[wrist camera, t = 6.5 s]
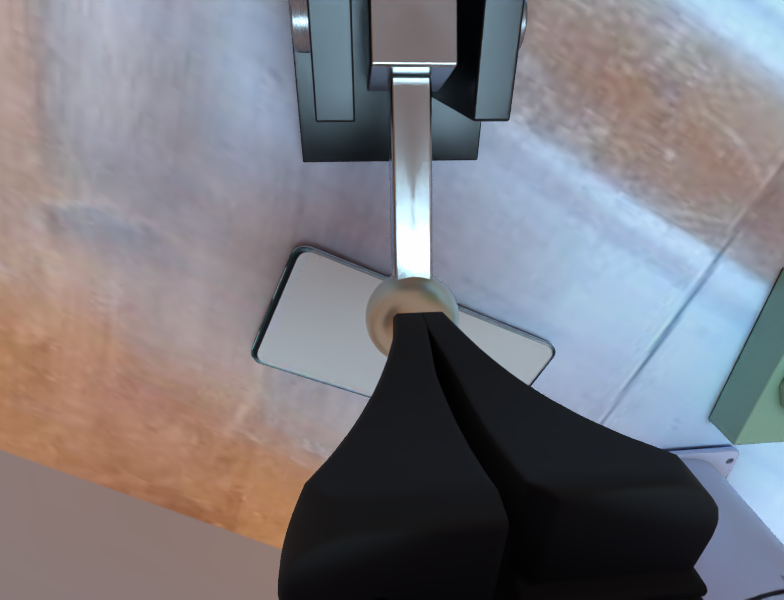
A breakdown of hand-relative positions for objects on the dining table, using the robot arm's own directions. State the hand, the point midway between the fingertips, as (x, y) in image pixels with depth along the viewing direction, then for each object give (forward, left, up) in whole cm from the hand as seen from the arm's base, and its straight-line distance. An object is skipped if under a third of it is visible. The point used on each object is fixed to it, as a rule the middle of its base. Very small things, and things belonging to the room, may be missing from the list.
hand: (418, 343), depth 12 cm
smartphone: (-7, -1, -10) cm, 12 cm away
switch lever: (+3, 0, -4) cm, 5 cm away
